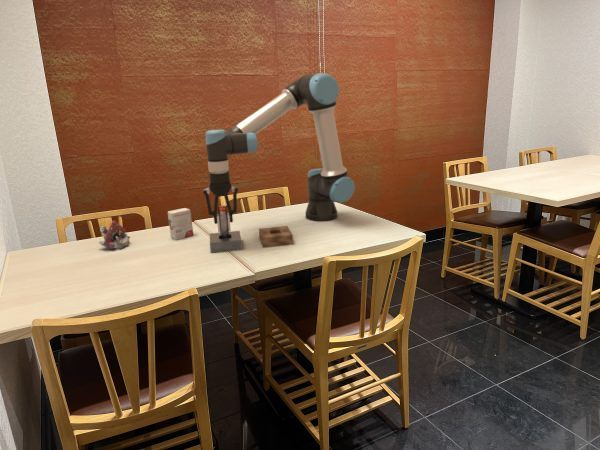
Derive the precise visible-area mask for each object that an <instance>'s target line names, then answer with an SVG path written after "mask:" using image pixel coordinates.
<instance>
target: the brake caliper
mask: <svg viewBox="0 0 600 450" xmlns="http://www.w3.org/2000/svg"><path fill="white" fill-rule="evenodd" d="M100 227H101V228H100V229H99V231H100V232H101V233H102V234H103V239H104V240H101V241H99V242H98V244H100V246H103V247H105V248H106V250H110V249H111V250H117V249H118V250H122V249H124V248H127V247H128V246H129V245H131V243H130V239H131V236H130V235H129V236H128V234H127V230H126V229H125V228H124V227H123V226H122V225H121V224H119V223H118V222H117V221H116V220H112V221H111V223H110V225H109V226H108V229H107V226H105V225H103V226H102V225H101V226H100ZM119 231H120V233H119ZM126 246H127V247H126Z"/></svg>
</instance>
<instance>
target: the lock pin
mask: <svg viewBox="0 0 600 450" xmlns="http://www.w3.org/2000/svg"><path fill="white" fill-rule="evenodd" d="M217 214H219V223H220V232H219V233H220V235H221V239H227V238H230V237H229V232H230V231H229V227H228V216H227V214H228V208H227V205H219V206H217Z"/></svg>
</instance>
